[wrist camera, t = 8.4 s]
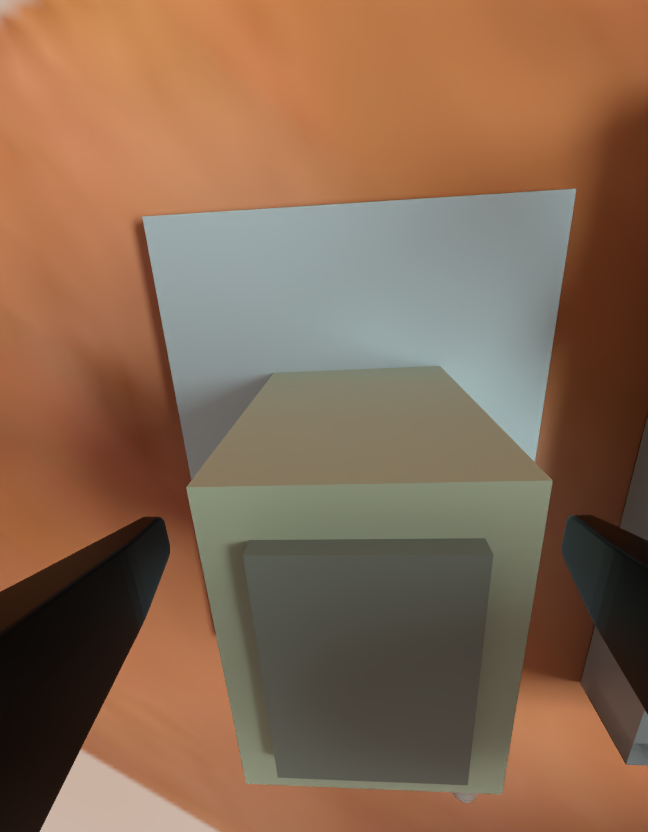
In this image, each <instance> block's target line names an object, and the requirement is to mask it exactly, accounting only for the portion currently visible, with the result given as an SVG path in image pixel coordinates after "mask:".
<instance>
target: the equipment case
mask: <svg viewBox="0 0 648 832" xmlns="http://www.w3.org/2000/svg"><path fill="white" fill-rule="evenodd" d="M620 528H621V529H624V530H626V531H628V532H630V533H632V534H635V535H637V536H639V537H641V538H643V539H646V540H648V416H647V420H646V424H645V428H644V432H643V436H642V440H641V444H640V448H639V452H638V456H637V460H636V464H635V468H634V472H633V476H632V480H631V484H630V488H629V492H628V496H627V500H626V504H625V508H624V512H623V516H622V520H621V524H620ZM580 684H581V686H582V687H583V689H584V691H585V693H586V694H587V696H588V698H589V700H590V702H591V703H592V705H593V707H594V709H595V710H596V712H597V714H598V716H599V717H600V719H601V721H602V723H603V725H604V726H605V728H606V730H607V732H608V733H609V735H610V737H611V739H612V741H613V742H614V744H615V746H616V748H617V749H618V751H619V753H620V755H621V757H622V758H623V760H624V762H625V764H626V765H648V715H647V713H646V711H645V709H644V708H643V706H642V704H641V703H640V701H639V699H638V698H637V696H636V694H635V693H634V691H633V689H632V688H631V686H630V684H629V682H628V681H627V679H626V677H625V676H624V674H623V672H622V671H621V669H620V667H619V666H618V664H617V662H616V660H615V659H614V657H613V655H612V654H611V652H610V650H609V649H608V647H607V645H606V644H605V642H604V640H603V639H602V637H601V635H600V633H599V631H598V630H597V628H596V626H595V628H594V632H593V636H592V640H591V644H590V648H589V652H588V656H587V660H586V663H585V667H584V671H583V675H582V679H581V683H580Z"/></svg>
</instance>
